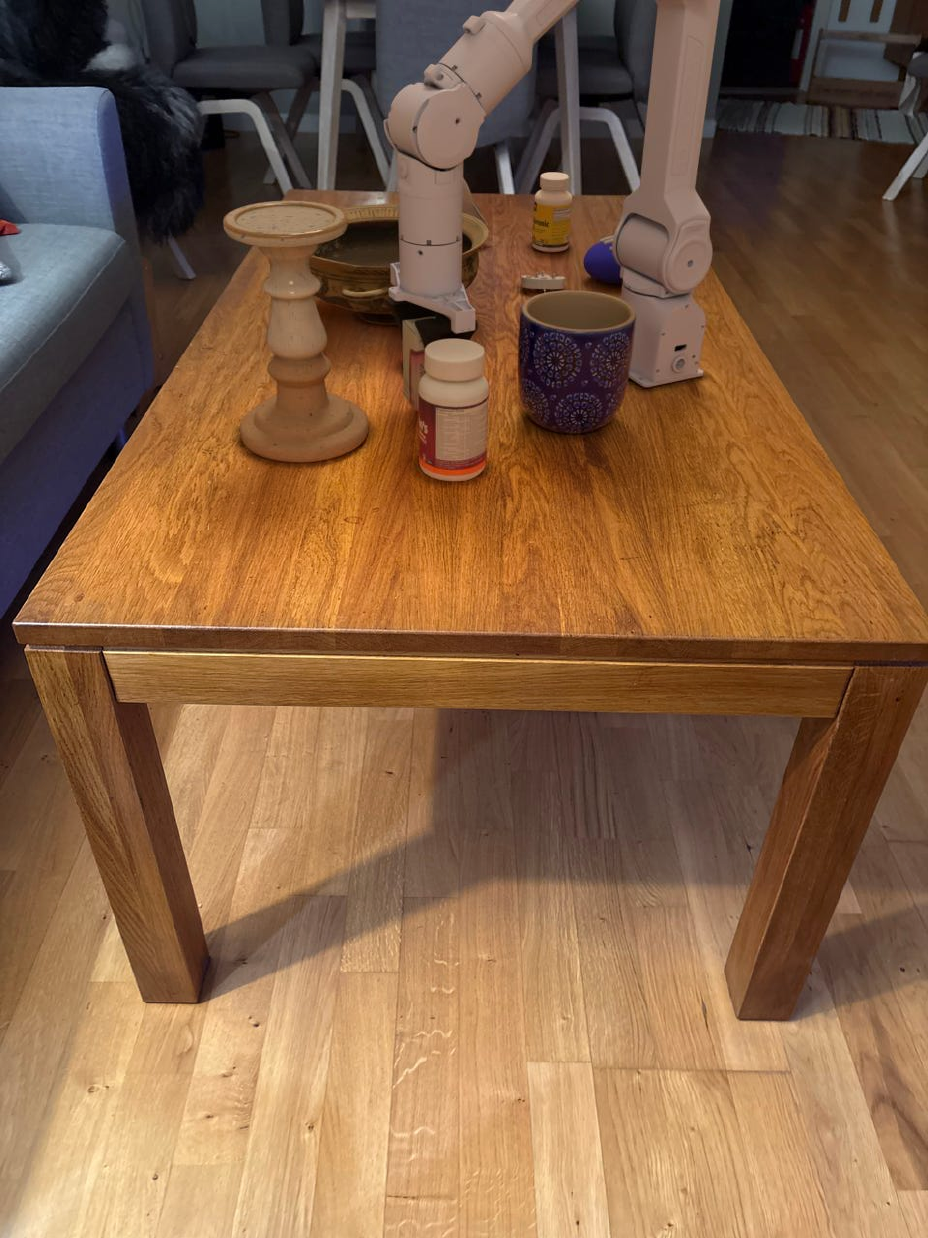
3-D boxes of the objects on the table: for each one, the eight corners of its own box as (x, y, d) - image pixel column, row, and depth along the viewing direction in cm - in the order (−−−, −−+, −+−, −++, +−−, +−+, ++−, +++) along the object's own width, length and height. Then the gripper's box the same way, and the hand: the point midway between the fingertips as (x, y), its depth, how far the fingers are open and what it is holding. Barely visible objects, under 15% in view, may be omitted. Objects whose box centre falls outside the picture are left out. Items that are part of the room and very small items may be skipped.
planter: (640, 411, 99) (655, 303, 92) (595, 454, 92) (608, 340, 85) (544, 386, 103) (552, 281, 97) (495, 426, 96) (499, 315, 89)
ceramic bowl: (325, 268, 133) (319, 190, 126) (499, 279, 130) (502, 201, 124) (257, 354, 109) (246, 264, 103) (468, 370, 107) (470, 278, 100)
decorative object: (596, 241, 122) (578, 229, 131) (591, 289, 125) (574, 274, 134) (677, 243, 123) (654, 231, 132) (670, 291, 126) (648, 276, 135)
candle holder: (230, 415, 97) (200, 202, 84) (350, 398, 100) (337, 192, 88) (254, 473, 88) (224, 244, 75) (384, 452, 91) (376, 230, 79)
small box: (415, 413, 95) (414, 335, 90) (402, 394, 98) (401, 318, 93) (463, 406, 96) (465, 329, 92) (450, 388, 100) (451, 313, 95)
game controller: (556, 281, 130) (558, 261, 128) (587, 312, 121) (589, 292, 120) (516, 284, 129) (517, 264, 127) (544, 316, 120) (546, 295, 118)
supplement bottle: (525, 243, 143) (528, 172, 137) (557, 239, 145) (562, 169, 139) (542, 254, 139) (547, 181, 133) (575, 250, 141) (581, 178, 135)
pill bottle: (417, 452, 91) (415, 336, 84) (482, 450, 92) (486, 334, 85) (421, 485, 87) (420, 364, 80) (489, 482, 87) (494, 362, 80)
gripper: (359, 219, 91) (365, 358, 99) (424, 266, 81) (425, 415, 89) (427, 211, 94) (428, 347, 102) (498, 255, 83) (492, 401, 92)
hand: (431, 378), depth 96 cm, fingers closed on small box, 4 cm apart
